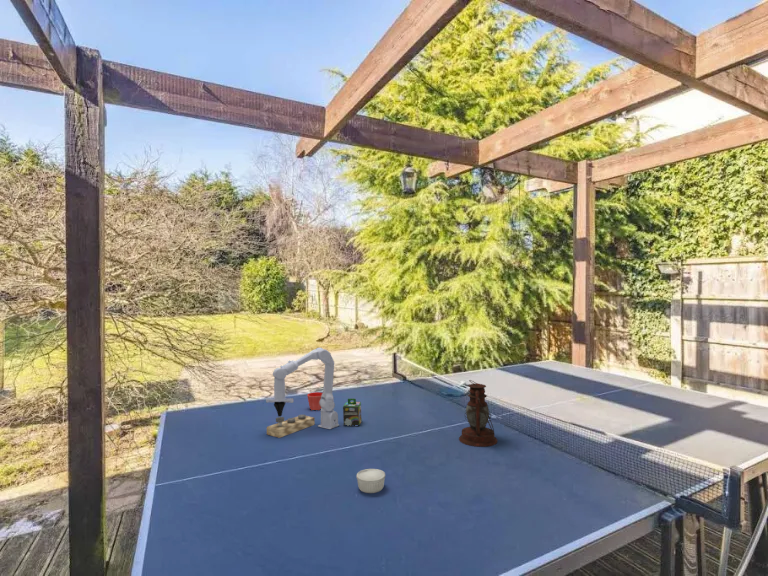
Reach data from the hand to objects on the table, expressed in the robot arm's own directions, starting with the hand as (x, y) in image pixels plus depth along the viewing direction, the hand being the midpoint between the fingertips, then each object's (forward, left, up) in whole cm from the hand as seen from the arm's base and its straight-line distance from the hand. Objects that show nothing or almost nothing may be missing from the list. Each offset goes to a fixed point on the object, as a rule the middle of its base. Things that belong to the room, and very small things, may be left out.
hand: (280, 415), depth 230 cm
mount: (0, -8, -9) cm, 12 cm away
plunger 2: (0, -8, -10) cm, 12 cm away
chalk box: (-23, -34, -10) cm, 42 cm away
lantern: (-93, -47, -10) cm, 105 cm away
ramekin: (-79, +24, -10) cm, 83 cm away
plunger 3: (0, -16, -10) cm, 19 cm away
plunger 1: (0, 0, -7) cm, 7 cm away
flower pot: (+17, -45, -10) cm, 49 cm away
